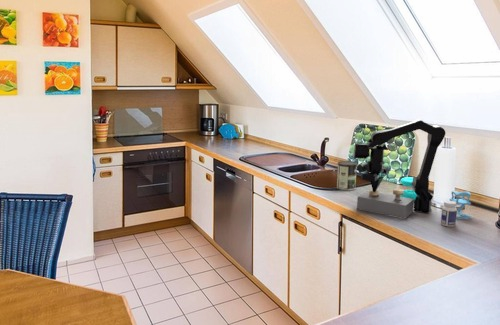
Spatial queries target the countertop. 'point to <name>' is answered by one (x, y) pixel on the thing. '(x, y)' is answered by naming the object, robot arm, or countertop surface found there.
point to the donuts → (408, 193)
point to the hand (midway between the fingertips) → (374, 191)
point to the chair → (461, 202)
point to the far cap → (374, 193)
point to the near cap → (397, 194)
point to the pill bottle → (449, 214)
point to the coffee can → (346, 175)
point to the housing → (385, 205)
